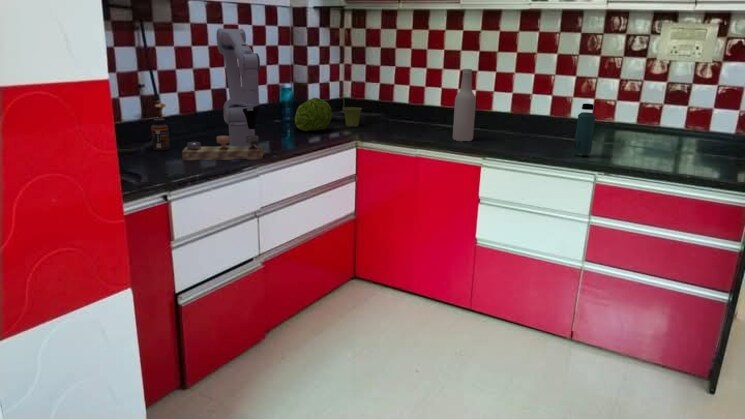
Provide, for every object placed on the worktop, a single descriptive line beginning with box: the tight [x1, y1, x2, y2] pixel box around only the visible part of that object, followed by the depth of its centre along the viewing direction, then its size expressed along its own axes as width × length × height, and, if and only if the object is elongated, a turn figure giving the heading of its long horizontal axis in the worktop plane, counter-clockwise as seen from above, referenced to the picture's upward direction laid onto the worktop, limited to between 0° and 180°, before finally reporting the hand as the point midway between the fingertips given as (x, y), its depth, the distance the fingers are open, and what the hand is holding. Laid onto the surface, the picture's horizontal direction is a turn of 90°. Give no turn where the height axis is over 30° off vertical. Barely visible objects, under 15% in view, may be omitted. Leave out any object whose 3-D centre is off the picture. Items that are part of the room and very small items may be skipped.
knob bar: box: [181, 145, 264, 161], centre depth 199 cm, size 27×9×3 cm, turn 100°
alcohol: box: [452, 68, 477, 142], centre depth 240 cm, size 9×9×30 cm
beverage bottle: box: [572, 102, 596, 155], centre depth 212 cm, size 6×7×20 cm
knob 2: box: [246, 135, 260, 148], centre depth 199 cm, size 4×4×4 cm
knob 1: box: [187, 141, 202, 150], centre depth 197 cm, size 4×4×4 cm
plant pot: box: [342, 106, 363, 128], centre depth 274 cm, size 9×9×9 cm
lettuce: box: [294, 97, 333, 132], centre depth 258 cm, size 15×25×16 cm
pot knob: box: [216, 135, 230, 148], centre depth 198 cm, size 4×4×4 cm
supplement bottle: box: [150, 118, 171, 151], centre depth 208 cm, size 6×6×11 cm
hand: (251, 128), depth 198 cm, fingers closed
